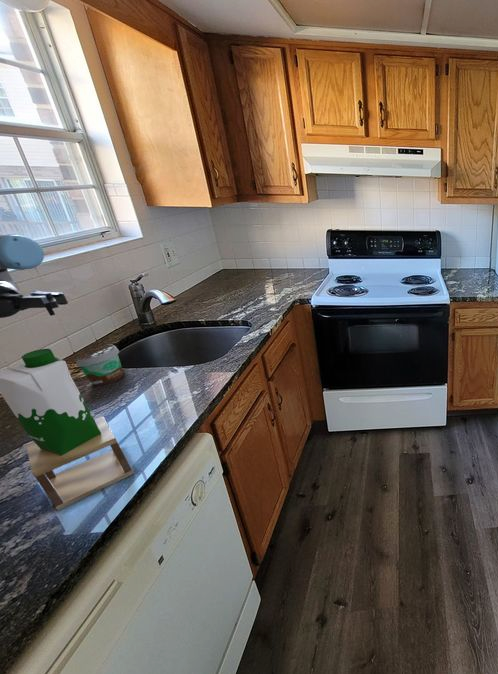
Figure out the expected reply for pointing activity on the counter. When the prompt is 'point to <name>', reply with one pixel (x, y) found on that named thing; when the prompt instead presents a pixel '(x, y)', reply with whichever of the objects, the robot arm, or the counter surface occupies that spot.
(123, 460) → the rack
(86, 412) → the soya milk
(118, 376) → the food container
